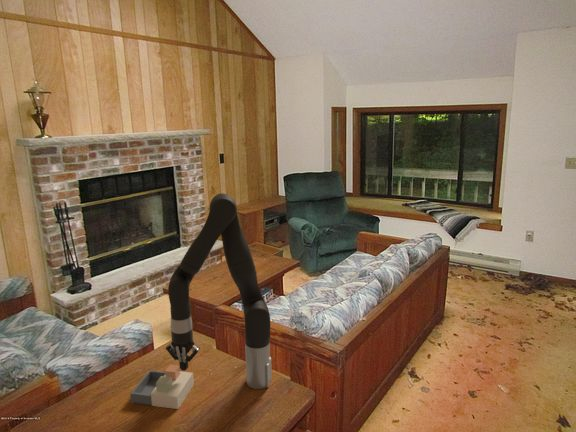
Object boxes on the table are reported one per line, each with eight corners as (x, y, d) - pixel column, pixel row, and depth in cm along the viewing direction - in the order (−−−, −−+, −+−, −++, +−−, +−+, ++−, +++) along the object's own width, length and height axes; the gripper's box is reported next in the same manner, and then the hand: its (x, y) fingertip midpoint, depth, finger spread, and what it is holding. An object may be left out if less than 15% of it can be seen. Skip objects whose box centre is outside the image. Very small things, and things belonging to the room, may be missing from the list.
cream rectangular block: (193, 384, 162) (193, 372, 160) (178, 409, 148) (177, 396, 147) (169, 381, 163) (168, 370, 162) (151, 405, 150) (150, 393, 149)
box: (169, 381, 163) (168, 372, 162) (151, 405, 150) (150, 396, 149) (150, 379, 165) (149, 370, 164) (131, 403, 151) (130, 393, 150)
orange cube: (180, 373, 160) (179, 365, 159) (175, 380, 156) (175, 372, 155) (170, 372, 160) (169, 364, 159) (165, 379, 157) (164, 371, 156)
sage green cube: (172, 385, 153) (171, 377, 152) (167, 392, 149) (166, 384, 148) (161, 384, 154) (161, 375, 153) (156, 391, 150) (155, 382, 149)
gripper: (203, 324, 154) (204, 365, 159) (169, 320, 157) (172, 361, 161) (194, 334, 147) (197, 377, 151) (159, 330, 149) (162, 373, 154)
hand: (184, 369), depth 156 cm, fingers closed
